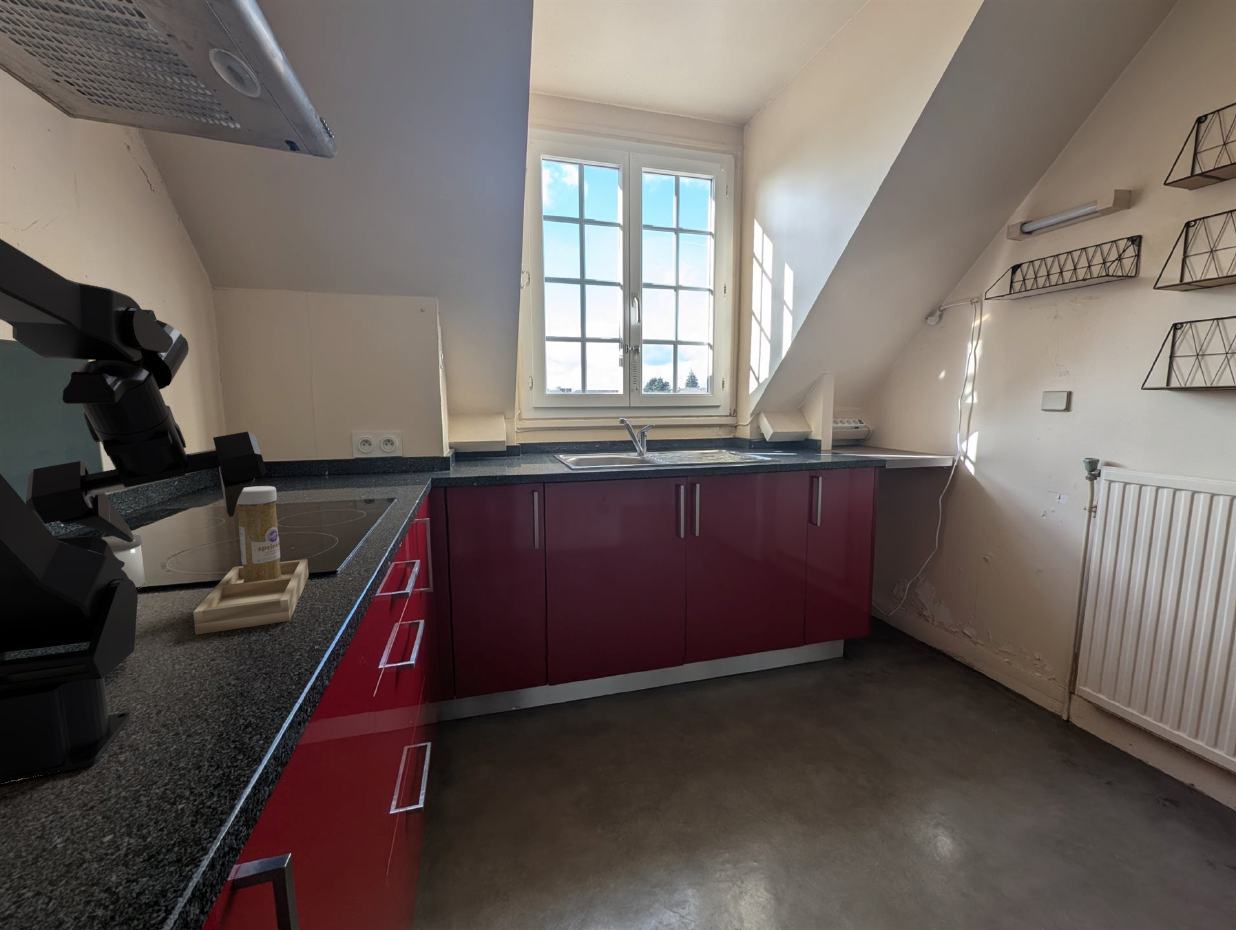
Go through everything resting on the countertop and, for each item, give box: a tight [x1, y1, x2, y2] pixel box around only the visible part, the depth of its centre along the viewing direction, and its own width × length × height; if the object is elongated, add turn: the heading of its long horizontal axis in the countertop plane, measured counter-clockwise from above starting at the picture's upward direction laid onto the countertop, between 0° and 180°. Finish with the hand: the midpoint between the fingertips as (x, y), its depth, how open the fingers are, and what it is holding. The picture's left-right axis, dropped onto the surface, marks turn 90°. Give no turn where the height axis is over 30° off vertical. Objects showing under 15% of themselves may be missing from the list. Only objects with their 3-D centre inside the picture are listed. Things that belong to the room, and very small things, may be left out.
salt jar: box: [101, 534, 146, 587], centre depth 72 cm, size 6×6×7 cm
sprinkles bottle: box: [236, 485, 282, 583], centre depth 70 cm, size 5×5×13 cm
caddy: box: [192, 558, 309, 635], centre depth 68 cm, size 17×9×3 cm, turn 25°
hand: (183, 526), depth 60 cm, fingers open, 9 cm apart
